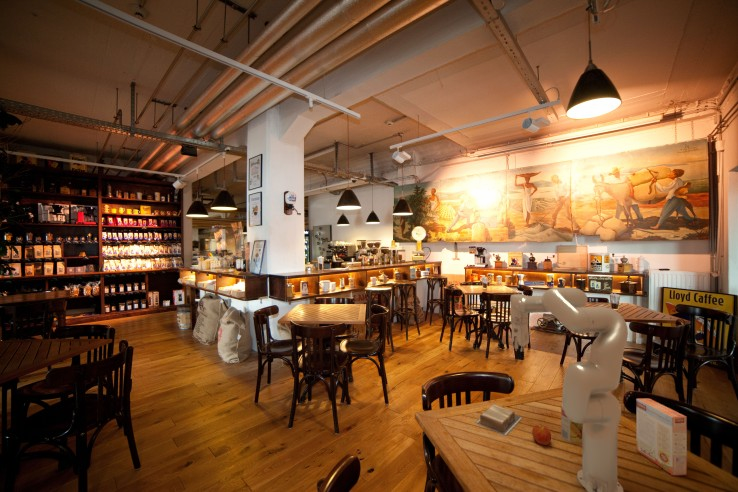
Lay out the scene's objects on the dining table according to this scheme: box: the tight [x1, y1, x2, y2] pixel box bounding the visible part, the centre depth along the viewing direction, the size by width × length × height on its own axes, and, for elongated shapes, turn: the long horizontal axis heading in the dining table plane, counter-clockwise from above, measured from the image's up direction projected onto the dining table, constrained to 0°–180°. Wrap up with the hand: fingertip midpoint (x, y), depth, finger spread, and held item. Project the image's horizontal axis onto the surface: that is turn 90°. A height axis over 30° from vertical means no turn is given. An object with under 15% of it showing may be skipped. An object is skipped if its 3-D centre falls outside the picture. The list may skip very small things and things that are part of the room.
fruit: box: [531, 424, 552, 446], centre depth 128 cm, size 7×7×8 cm
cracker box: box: [635, 397, 688, 476], centre depth 117 cm, size 14×6×21 cm, turn 4°
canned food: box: [560, 406, 583, 445], centre depth 132 cm, size 8×8×12 cm
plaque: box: [479, 404, 516, 432], centre depth 143 cm, size 4×10×14 cm
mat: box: [475, 414, 524, 437], centre depth 144 cm, size 20×14×1 cm
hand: (520, 359), depth 148 cm, fingers closed
